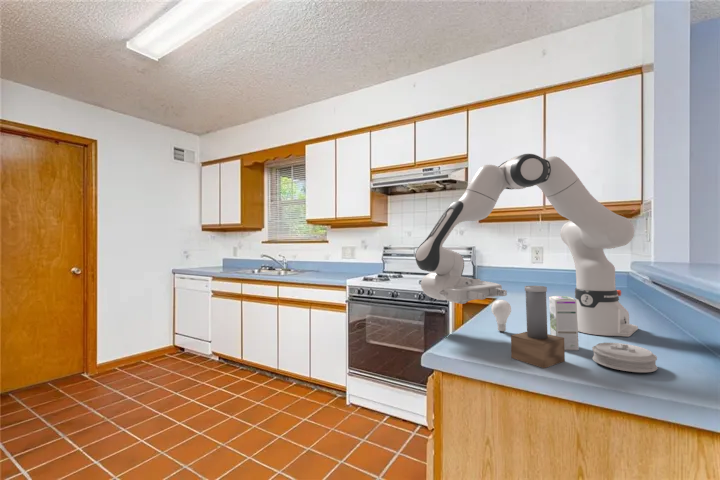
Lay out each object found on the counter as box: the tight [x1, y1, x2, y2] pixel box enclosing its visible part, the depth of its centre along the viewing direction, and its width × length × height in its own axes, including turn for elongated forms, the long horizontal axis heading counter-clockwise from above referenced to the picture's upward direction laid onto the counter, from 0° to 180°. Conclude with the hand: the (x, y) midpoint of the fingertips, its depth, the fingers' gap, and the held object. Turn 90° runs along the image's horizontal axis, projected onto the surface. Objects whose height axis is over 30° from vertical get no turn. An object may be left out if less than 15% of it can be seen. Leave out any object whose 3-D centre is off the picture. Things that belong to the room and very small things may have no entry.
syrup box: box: [548, 295, 579, 351], centre depth 100 cm, size 6×6×14 cm
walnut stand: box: [510, 331, 566, 369], centre depth 90 cm, size 9×9×6 cm
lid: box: [591, 342, 658, 373], centre depth 85 cm, size 13×13×5 cm
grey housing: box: [524, 285, 549, 339], centre depth 90 cm, size 5×5×13 cm
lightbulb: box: [490, 299, 512, 333], centre depth 118 cm, size 6×6×11 cm
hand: (494, 294), depth 101 cm, fingers open, 8 cm apart
